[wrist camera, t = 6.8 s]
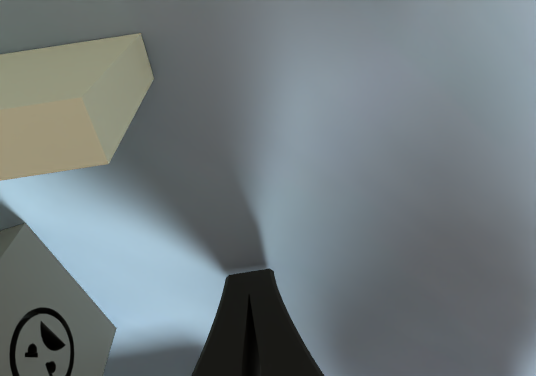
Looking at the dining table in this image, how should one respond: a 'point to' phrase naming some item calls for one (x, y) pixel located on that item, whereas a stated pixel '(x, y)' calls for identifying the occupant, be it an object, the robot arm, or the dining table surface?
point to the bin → (69, 104)
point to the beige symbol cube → (46, 314)
